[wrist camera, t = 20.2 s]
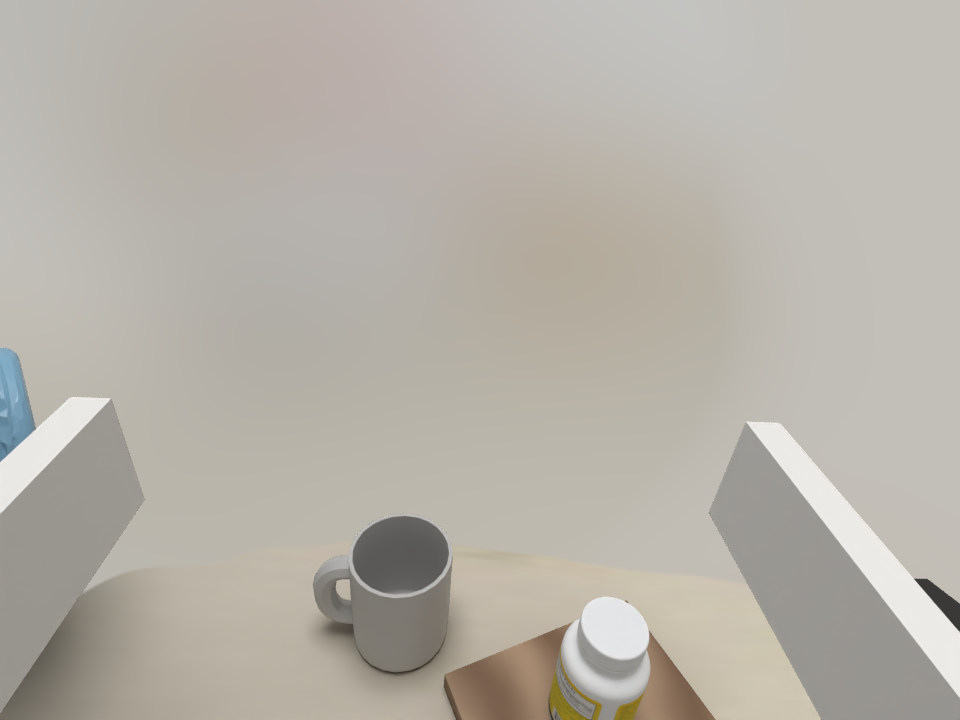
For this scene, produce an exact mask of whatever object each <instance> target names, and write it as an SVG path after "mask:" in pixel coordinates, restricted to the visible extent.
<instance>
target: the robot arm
mask: <svg viewBox="0 0 960 720" xmlns="http://www.w3.org/2000/svg"><path fill="white" fill-rule="evenodd" d="M144 500H145V499H144V496H143V493H142V490H141V487H140V484H139V481H138V478H137V474H136V471H135V469H134V466H133V463H132V459H131V456H130V453H129V450H128V447H127V444H126V441H125V438H124V436H123V433H122V429H121V426H120V423H119V420H118V417H117V414H116V411H115V408H114V405H113V402H112V399H111V398H110V399H109V398H84V397H82V398H81V397H70V398H69V399H68V400H67V401H66V402H65V403H64V404H63V405H62V406H61V407H59V408H58V409H57V410H56V411H55V412H54V413H53V414H52V415H51V416H50V417H49V418H48V419H46V420H45V421H44V422H43V423H42V424H41V425H40V426H39V427H38V428H37V429H36V428H35V423H34V419H33V414H32V410H31V406H30V402H29V398H28V394H27V389H26V385H25V380H24V376H23V372H22V368H21V364H20V360H19V357H18V356H17V354H16V353H15V352H14V351H12V350H10V349H7V348H0V713H1V712H2V710H3V709H4V707H5V706H6V704H7V703H8V701H9V700H10V698H11V697H12V695H13V694H14V693H15V691H16V690H17V688H18V687H19V685H20V684H21V682H22V681H23V679H24V678H25V676H26V675H27V673H28V672H29V670H30V669H31V667H32V666H33V664H34V663H35V661H36V660H37V658H38V657H39V656H40V654H41V653H42V651H43V650H44V648H45V647H46V645H47V644H48V642H49V641H50V639H51V638H52V636H53V635H54V633H55V632H56V630H57V629H58V627H59V626H60V624H61V623H62V622H63V620H64V619H65V617H66V616H67V614H68V613H69V611H70V610H71V608H72V607H73V605H74V604H75V602H76V601H77V599H78V598H79V596H80V595H81V593H82V592H83V590H84V589H85V587H86V586H87V584H88V583H89V582H90V580H91V579H92V577H93V576H94V574H95V573H96V571H97V569H98V568H99V567H100V565H101V564H102V562H103V561H104V559H105V558H106V556H107V555H108V553H109V552H110V550H111V549H112V548H113V546H114V545H115V543H116V542H117V540H118V539H119V537H120V536H121V534H122V533H123V531H124V530H125V528H126V527H127V525H128V524H129V522H130V521H131V519H132V518H133V516H134V515H135V514H136V512H137V511H138V509H139V508H140V506H141V504H142V503H143V502H144ZM709 514H710V516H711V518H712V520H713V521H714V523H715V525H716V527H717V529H718V531H719V532H720V534H721V536H722V538H723V540H724V542H725V543H726V545H727V547H728V549H729V551H730V552H731V554H732V556H733V558H734V560H735V562H736V564H737V565H738V567H739V569H740V571H741V573H742V575H743V576H744V578H745V580H746V582H747V584H748V586H749V588H750V589H751V591H752V593H753V595H754V597H755V599H756V600H757V602H758V604H759V606H760V608H761V610H762V611H763V613H764V615H765V617H766V619H767V621H768V622H769V624H770V626H771V628H772V630H773V632H774V633H775V635H776V637H777V639H778V641H779V643H780V644H781V646H782V648H783V650H784V652H785V654H786V655H787V657H788V659H789V661H790V663H791V665H792V666H793V668H794V670H795V672H796V674H797V676H798V677H799V679H800V681H801V683H802V685H803V687H804V688H805V690H806V692H807V694H808V696H809V698H810V699H811V701H812V703H813V705H814V707H815V709H816V711H817V712H818V714H819V716H820V718H821V720H960V604H959V603H958V602H957V601H955V600H954V599H953V598H952V597H950V596H948V594H946V593H945V592H944V591H942V590H941V589H940V588H938V587H937V586H936V585H934V584H933V583H932V582H931V581H929V580H928V579H913V577H912V576H911V575H910V574H909V573H908V572H907V571H906V569H905V568H904V567H903V566H902V565H901V564H900V562H899V561H898V560H897V559H896V558H895V557H894V555H893V554H892V553H891V552H890V551H889V550H888V548H887V547H886V546H885V545H884V544H883V543H882V541H881V540H880V539H879V538H878V537H877V536H876V535H875V533H874V532H873V531H872V530H871V529H870V527H869V526H868V525H867V524H866V523H865V522H864V521H863V519H862V518H861V517H860V516H859V515H858V514H857V513H856V511H855V510H854V509H853V508H852V507H851V506H850V504H849V503H848V502H847V501H846V500H845V499H844V497H843V496H842V495H841V494H840V493H839V491H838V490H837V489H836V488H835V487H834V486H833V485H832V483H831V482H830V481H829V480H828V479H827V478H826V476H825V475H824V474H823V473H822V472H821V471H820V469H819V468H818V467H817V466H816V465H815V464H814V462H813V461H812V460H811V459H810V458H809V457H808V456H807V455H806V453H805V452H804V451H803V450H802V448H800V446H799V445H798V444H797V443H796V441H794V439H793V438H792V437H791V436H790V435H789V433H788V432H787V431H786V430H785V429H784V428H783V426H782V425H781V424H780V423H766V422H764V423H763V422H746V423H745V425H744V428H743V430H742V433H741V435H740V438H739V440H738V442H737V445H736V447H735V450H734V452H733V455H732V457H731V460H730V462H729V465H728V467H727V469H726V472H725V474H724V477H723V479H722V482H721V484H720V486H719V489H718V491H717V494H716V496H715V499H714V501H713V504H712V506H711V508H710V511H709Z"/></svg>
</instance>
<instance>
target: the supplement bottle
mask: <svg viewBox="0 0 960 720" xmlns="http://www.w3.org/2000/svg"><path fill="white" fill-rule="evenodd" d="M648 644H649V630H648V626H647V624H646V622H645V620H644V618H643V617H642V615H641V614H640V613H639V612H638V611H637V610H636V609H635V608H634V607H633V606H631V605H630V604H628V603H627V602H625V601H623V600H620V599H617V598H613V597H600V598H597V599H594V600H592V601H591V602H589V603H588V604H587V605H586V606H585V608H584V609H583V611H582V614H581V618H579V619H577V620H576V621H574V622H573V623H572V624H571V625H570V627H569V628H568V629H567V631H566V633H565V635H564V638H563V641H562V644H561V648H560V652H559V656H558V660H557V665H556V669H555V673H554V677H553V681H552V686H551V690H550V695H549V702H548V710H549V718H550V720H633V719H634V717H635V714H636V712H637V709H638V707H639V704H640V702H641V699H642V697H643V694H644V692H645V690H646V687H647V684H648V681H649V677H650V659H649V655H648V652H647V647H648Z"/></svg>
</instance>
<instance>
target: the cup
mask: <svg viewBox="0 0 960 720" xmlns="http://www.w3.org/2000/svg"><path fill="white" fill-rule="evenodd" d="M452 558H453V552H452V544H451V542H450V539H449V537H448V535H447V533H446V532H445V531H444V530H443V529H442V528H441V527H440V526H439V525H438V524H436V523H435V522H433V521H432V520H430V519H428V518H425V517H422V516H419V515H414V514H407V513H405V514H392V515H388V516H385V517H381V518H379V519H377V520H375V521H373V522H371V523H369V524H368V525H367V526H366V527H364V528H363V529H362V530H361V531H360V532H359V533H358V534H357V536H356V537H355V538H354V540H353V542H352V545H351V547H350V550H349V555H341V556H336V557H333V558H331V559H329V560H328V561H326V562H325V563H324V564H323V565H322V566H321V567H320V569H319V570H318V572H317V573H316V575H315V577H314V582H313V588H314V595H315V600H316V603H317V605H318V607H319V609H320V611H321V612H322V613H323V614H324V615H325V616H326V617H328V618H330V619H332V620H333V621H336V622H340V623H344V624H353V629H354V637H355V641H356V645H357V648H358V650H359V651H360V653H361V655H362V656H363V658H364V659H366V660H367V661H368V662H369V663H370V664H371V665H372V666H375V667H377V668H379V669H381V670H384V671H390V672H404V671H410V670H413V669H415V668H418V667H421V666H422V665H424V664H425V663H426V662H428V661H429V660H431V659H432V658H433V657H434V655H435V654H436V653H437V652H438V651H439V650H440V647H441V645H442V643H443V641H444V639H445V634H446V629H447V623H448V611H449V598H450V585H451V571H452ZM341 579H350V589H351V601H350V600H345V599H343V598H341V597H340V596H339V595H338V593H337V592H336V588H335V586H336V581H337V580H341Z"/></svg>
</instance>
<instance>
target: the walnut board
mask: <svg viewBox="0 0 960 720" xmlns="http://www.w3.org/2000/svg"><path fill="white" fill-rule="evenodd" d="M625 602H627V601H625ZM627 603H628V602H627ZM628 604H629V603H628ZM572 623H573V622H572ZM572 623H570V624H568V625H565V626H563V627H560V628H558V629H555V630H553V631H550V632H548V633H545V634H543V635H541V636H538V637H536V638H533V639H531V640H528V641H526V642H523V643H521V644H519V645H516V646H514V647H511V648H509V649H506V650H504V651H501V652H499V653H496V654H494V655H492V656H489V657H487V658H484V659H482V660H479V661H477V662H474V663H472V664H470V665H467V666H465V667H462V668H460V669H457V670H455V671H452V672H450V673H448V674H445V679H444V688H445V690H446V693H447V696H448V698H449V701H450V704H451V706H452V709H453V712H454V714H455V717H456V720H550V718H549V710H548V702H549V695H550V690H551V686H552V681H553V677H554V673H555V669H556V665H557V660H558V656H559V652H560V648H561V644H562V641H563V638H564V635H565V633H566V631H567V629H568V628H569V627H570V625H571V624H572ZM647 652H648V655H649V659H650V677H649V681H648V684H647V687H646V690H645V692H644V694H643V697H642V699H641V702H640V704H639V707H638V709H637V712H636V714H635V717H634V719H633V720H715V718H714V717H713V716H712V714H711V713H710V712H709V710H708V709H707V708H706V706H705V705H704V704H703V702H702V701H701V700H700V698H699V697H698V696H697V694H696V693H695V692H694V690H693V689H692V688H691V686H690V685H689V684H688V682H687V681H686V679H685V678H684V677H683V675H682V674H681V673H680V671H679V670H678V669H677V667H676V666H675V665H674V663H673V662H672V661H671V659H670V658H669V657H668V655H667V654H666V653H665V651H664V650H663V649H662V647H661V646H660V645H659V643H658V642H657V641H656V639H655V638H654V637H653V635H652V634H651V633H650V631H649V644H648V647H647Z"/></svg>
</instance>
